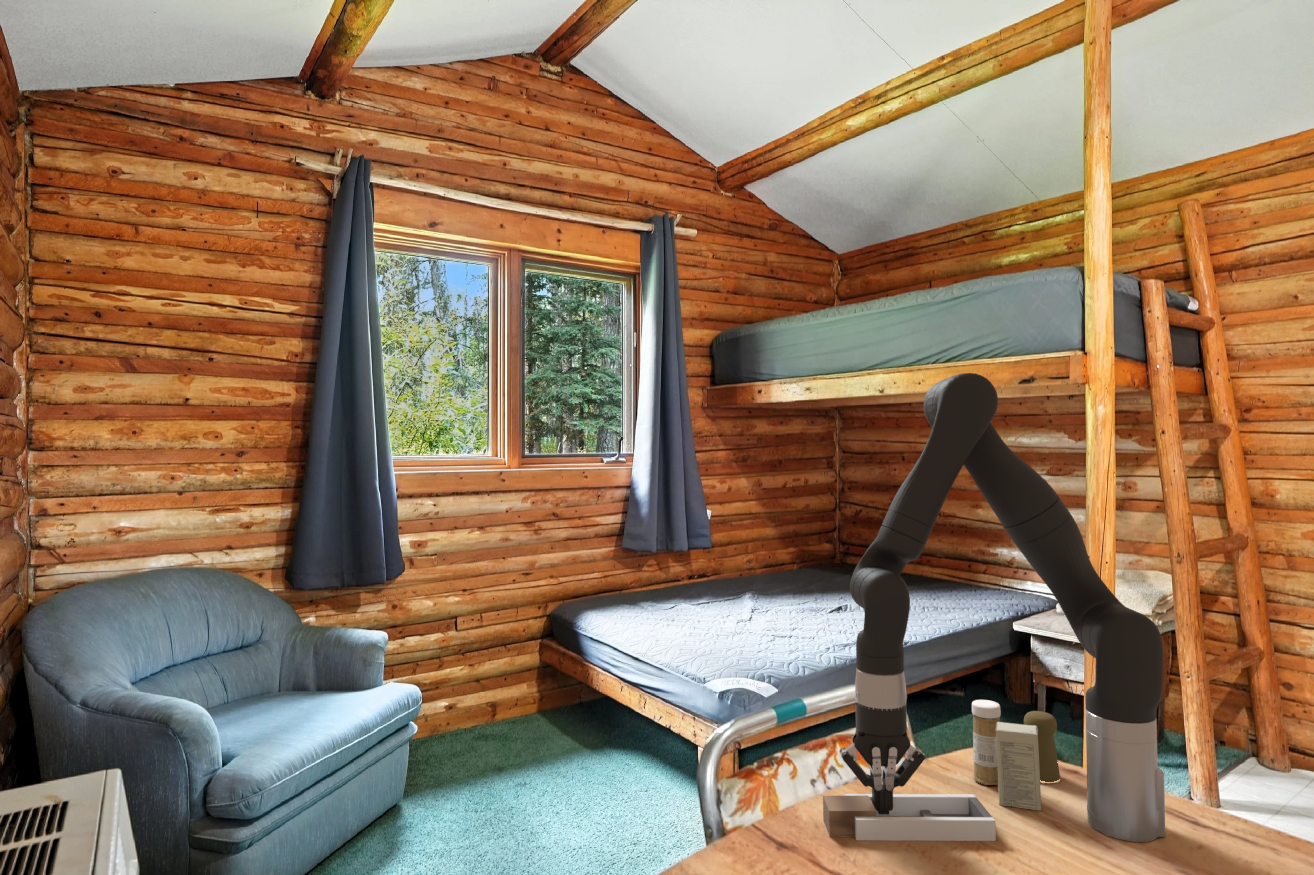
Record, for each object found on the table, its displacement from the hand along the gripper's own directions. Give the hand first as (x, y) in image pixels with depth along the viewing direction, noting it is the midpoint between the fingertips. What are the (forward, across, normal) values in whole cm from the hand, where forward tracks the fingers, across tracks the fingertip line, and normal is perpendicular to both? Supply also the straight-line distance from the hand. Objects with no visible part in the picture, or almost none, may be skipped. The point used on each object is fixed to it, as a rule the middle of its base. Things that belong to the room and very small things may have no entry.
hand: (882, 812), depth 119 cm
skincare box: (+2, -24, -8) cm, 25 cm away
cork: (+2, -32, -18) cm, 37 cm away
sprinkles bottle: (+2, -22, -16) cm, 27 cm away
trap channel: (+2, -5, 0) cm, 6 cm away
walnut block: (+2, +5, +1) cm, 6 cm away
